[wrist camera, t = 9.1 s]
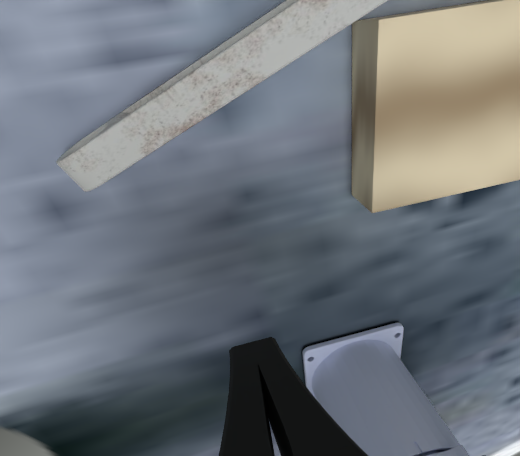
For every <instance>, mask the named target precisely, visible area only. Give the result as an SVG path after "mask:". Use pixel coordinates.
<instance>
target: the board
mask: <svg viewBox="0 0 520 456" xmlns="http://www.w3.org/2000/svg"><path fill="white" fill-rule="evenodd" d="M516 180H520V0H487V1H480V2H474V3H467V4H461V5H454V6H448V7H441V8H435V9H428V10H422V11H416V12H409V13H403V14H396V15H390V16H383V17H377V18H370V19H364V20H357V21H355V22H354V23H352V195H353V196H354V197H355V198H356V199H357V200H358V201H359V202H360V203H361V204H362V205H364V206H365V207H366V208H367V209H368V210H369V211H370V212H371V213H375V212H379V211H384V210H388V209H392V208H397V207H401V206H406V205H410V204H414V203H419V202H423V201H428V200H432V199H436V198H441V197H445V196H450V195H454V194H459V193H463V192H467V191H472V190H476V189H481V188H485V187H489V186H494V185H498V184H503V183H507V182H511V181H516Z"/></svg>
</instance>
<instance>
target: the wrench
mask: <svg viewBox="0 0 520 456" xmlns="http://www.w3.org/2000/svg"><path fill="white" fill-rule="evenodd" d="M386 1H388V0H286V1H284V2H283V3H281V4H280V5H278V6H277V7H275V8H274V9H272V10H271V11H270V12H268V13H267V14H265V15H264V16H262V17H261V18H259V19H258V20H256V21H255V22H253V23H252V24H250V25H249V26H247V27H246V28H245V29H243V30H242V31H240V32H239V33H237V34H236V35H234V36H233V37H231V38H230V39H228V40H227V41H225V42H224V43H222V44H221V45H220V46H218V47H217V48H215V49H214V50H212V51H211V52H209V53H208V54H206V55H205V56H203V57H202V58H200V59H199V60H197V61H196V62H195V63H193V64H192V65H190V66H189V67H187V68H186V69H184V70H183V71H181V72H180V73H178V74H177V75H175V76H174V77H172V78H171V79H169V80H168V81H167V82H165V83H164V84H162V85H161V86H159V87H158V88H156V89H155V90H153V91H152V92H150V93H149V94H147V95H146V96H144V97H143V98H141V99H140V100H139V101H137V102H136V103H134V104H133V105H131V106H130V107H128V108H127V109H125V110H124V111H122V112H121V113H119V114H118V115H116V116H115V117H114V118H112V119H111V120H109V121H108V122H106V123H105V124H103V125H102V126H101V127H99V128H98V129H96V130H95V131H93V132H92V133H91V134H89V135H88V136H86V137H85V138H83V139H82V140H80V141H79V142H78V143H76V144H75V145H74V146H72V147H71V148H70V149H69V150H67V151H66V152H65V153H64V154H63V155H62V156H61V157H60V158H59V159H58V160H57V162H56V163H57V164H58V165H59V166H60V167H61V168H62V169H63V170H64V171H65V172H66V173H67V174H68V175H69V176H70V177H71V178H72V179H73V180H74V181H75V182H76V183H77V184H78V185H79V186H80V187H81V188H82V189H83V190H84V191H85V192H87V191H91V190H93V189H95V188H97V187H99V186H100V185H102V184H104V183H105V182H107V181H108V180H110V179H111V178H113V177H114V176H116V175H118V174H119V173H121V172H122V171H124V170H125V169H127V168H128V167H130V166H132V165H133V164H135V163H136V162H138V161H139V160H141V159H142V158H144V157H145V156H147V155H149V154H150V153H152V152H153V151H155V150H156V149H158V148H159V147H161V146H163V145H164V144H166V143H167V142H169V141H170V140H172V139H173V138H175V137H177V136H178V135H180V134H181V133H183V132H184V131H186V130H187V129H189V128H191V127H192V126H194V125H195V124H197V123H198V122H200V121H201V120H203V119H204V118H206V117H208V116H209V115H211V114H212V113H214V112H215V111H217V110H218V109H220V108H222V107H223V106H225V105H226V104H228V103H229V102H231V101H232V100H234V99H236V98H237V97H239V96H240V95H242V94H243V93H245V92H246V91H248V90H250V89H251V88H253V87H254V86H256V85H257V84H259V83H260V82H262V81H263V80H265V79H267V78H268V77H270V76H271V75H273V74H274V73H276V72H277V71H279V70H281V69H282V68H284V67H285V66H287V65H288V64H290V63H291V62H293V61H295V60H296V59H298V58H299V57H301V56H302V55H304V54H305V53H307V52H309V51H310V50H312V49H313V48H315V47H316V46H318V45H319V44H321V43H322V42H324V41H326V40H327V39H329V38H330V37H332V36H333V35H335V34H336V33H338V32H340V31H341V30H343V29H344V28H346V27H347V26H349V25H350V24H352V23H354V22H355V21H357V20H358V19H360V18H361V17H363V16H364V15H366V14H367V13H369V12H371V11H372V10H374V9H375V8H377V7H378V6H380V5H381V4H383V3H385V2H386Z"/></svg>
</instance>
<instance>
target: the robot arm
mask: <svg viewBox="0 0 520 456" xmlns="http://www.w3.org/2000/svg"><path fill="white" fill-rule="evenodd" d="M403 330H404V328H403V326H402V325H401V324H400V323H393V324H390V325H386V326H382V327H378V328H375V329H371V330H367V331H364V332H360V333H356V334H353V335H349V336H345V337H341V338H338V339H334V340H330V341H327V342H323V343H319V344H316V345H312V346H308V347H306V348H305V349H304V350H303V352H302V354H303V364H304V374H305V384H306V386H305V385H304V383H303V382H302V381H301V379H300V378H299V377H298V375H297V374H296V372H295V371H294V370H293V368H292V367H291V365H290V364H289V362H288V361H287V359H286V358H285V356H284V354H283V353H282V351H281V349H280V348H279V346H278V344H277V342H276V340H275V339H274V338H272V337H269V338H265V339H261V340H258V341H254V342H250V343H246V344H243V345H239V346H235V347H232V348H231V349H230V351H229V353H230V383H229V395H228V403H227V411H226V419H225V425H224V430H223V436H222V441H221V447H220V452H219V456H274V449H273V443H272V437H271V431H270V424H271V427H272V430H273V433H274V436H275V439H276V442H277V445H278V448H279V451H280V454H281V456H469V454H468V453H467V451H466V450H465V449H464V447H463V446H462V445H460V444H459V442H458V441H457V439H456V438H455V437H454V435H453V434H452V432H451V431H450V429H449V428H448V427H447V425H446V424H445V422H444V421H443V419H442V418H441V417H440V415H439V414H438V412H437V411H436V409H435V408H434V407H433V405H432V404H431V402H430V401H429V399H428V398H427V397H426V395H425V394H424V392H423V391H422V389H421V388H420V387H419V385H418V384H417V382H416V381H415V379H414V378H413V377H412V375H411V374H410V372H409V371H408V370H407V368H406V367H405V365H404V364H403V362H402V361H401V360H400V358H401V349H402V339H403ZM269 421H270V424H269ZM482 456H485V455H482Z"/></svg>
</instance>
